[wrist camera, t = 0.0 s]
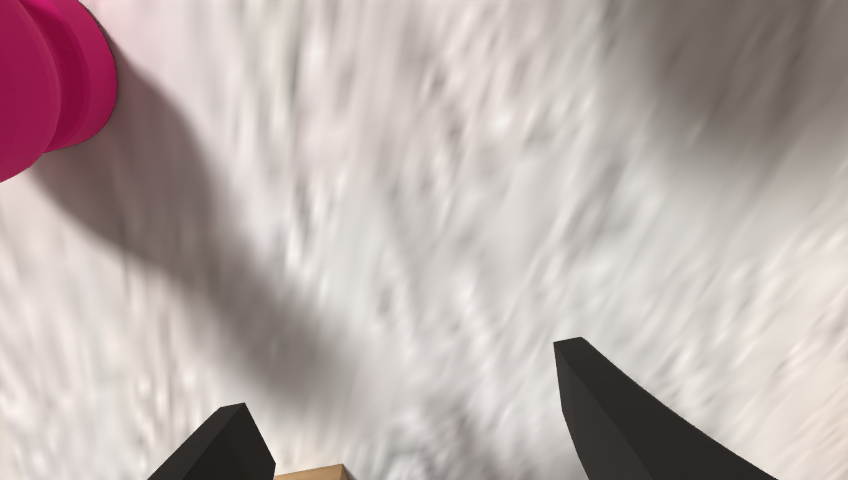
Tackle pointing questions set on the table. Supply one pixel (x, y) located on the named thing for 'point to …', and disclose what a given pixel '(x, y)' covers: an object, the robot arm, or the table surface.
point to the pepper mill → (50, 80)
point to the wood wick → (317, 474)
